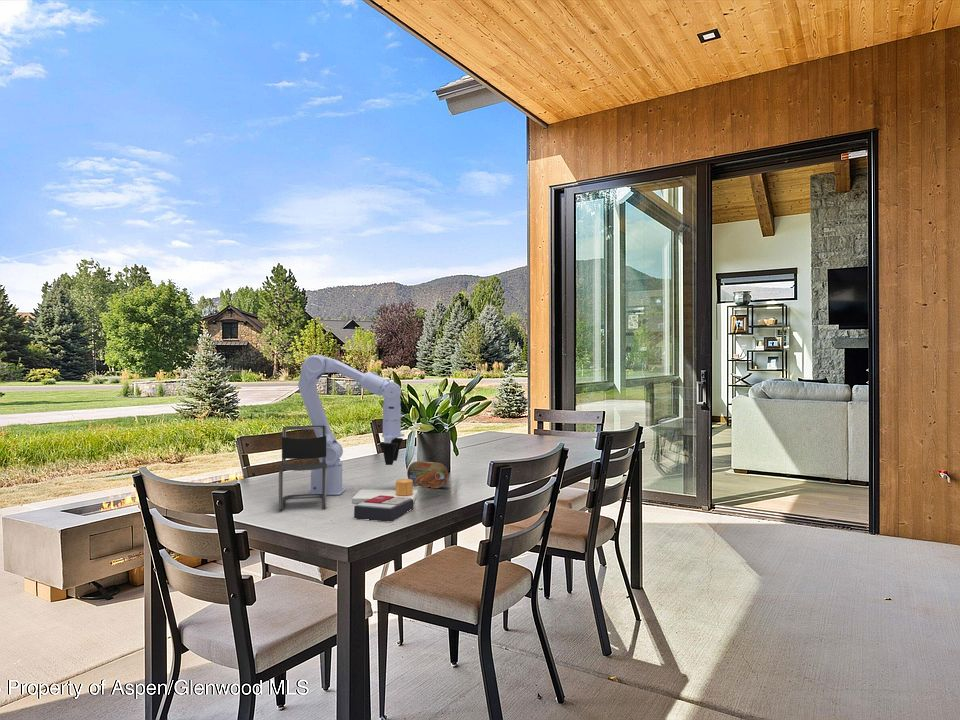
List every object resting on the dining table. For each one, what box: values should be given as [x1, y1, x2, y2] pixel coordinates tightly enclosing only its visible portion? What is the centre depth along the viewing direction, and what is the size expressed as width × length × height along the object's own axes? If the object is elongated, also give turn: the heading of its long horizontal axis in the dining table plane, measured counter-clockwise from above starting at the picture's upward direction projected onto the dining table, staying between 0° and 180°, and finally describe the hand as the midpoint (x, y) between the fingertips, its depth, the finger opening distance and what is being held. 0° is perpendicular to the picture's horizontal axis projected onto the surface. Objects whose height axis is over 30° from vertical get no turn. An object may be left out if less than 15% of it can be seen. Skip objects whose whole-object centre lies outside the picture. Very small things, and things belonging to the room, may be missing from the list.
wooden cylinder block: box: [395, 478, 414, 495], centre depth 183 cm, size 5×5×4 cm
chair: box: [278, 425, 327, 511], centre depth 177 cm, size 13×17×22 cm
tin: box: [406, 460, 449, 489], centre depth 201 cm, size 15×3×8 cm, turn 62°
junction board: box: [351, 489, 419, 504], centre depth 183 cm, size 18×12×5 cm, turn 89°
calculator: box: [353, 495, 414, 522], centre depth 166 cm, size 11×4×15 cm
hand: (391, 462), depth 193 cm, fingers open, 7 cm apart
